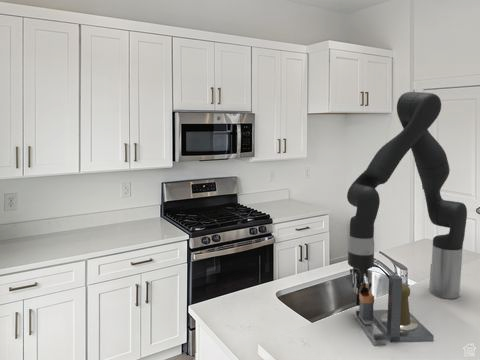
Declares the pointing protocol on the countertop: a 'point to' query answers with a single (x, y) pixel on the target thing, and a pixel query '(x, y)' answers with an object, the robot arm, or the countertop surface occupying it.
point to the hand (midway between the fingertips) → (359, 304)
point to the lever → (366, 307)
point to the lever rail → (372, 332)
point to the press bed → (391, 318)
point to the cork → (405, 306)
